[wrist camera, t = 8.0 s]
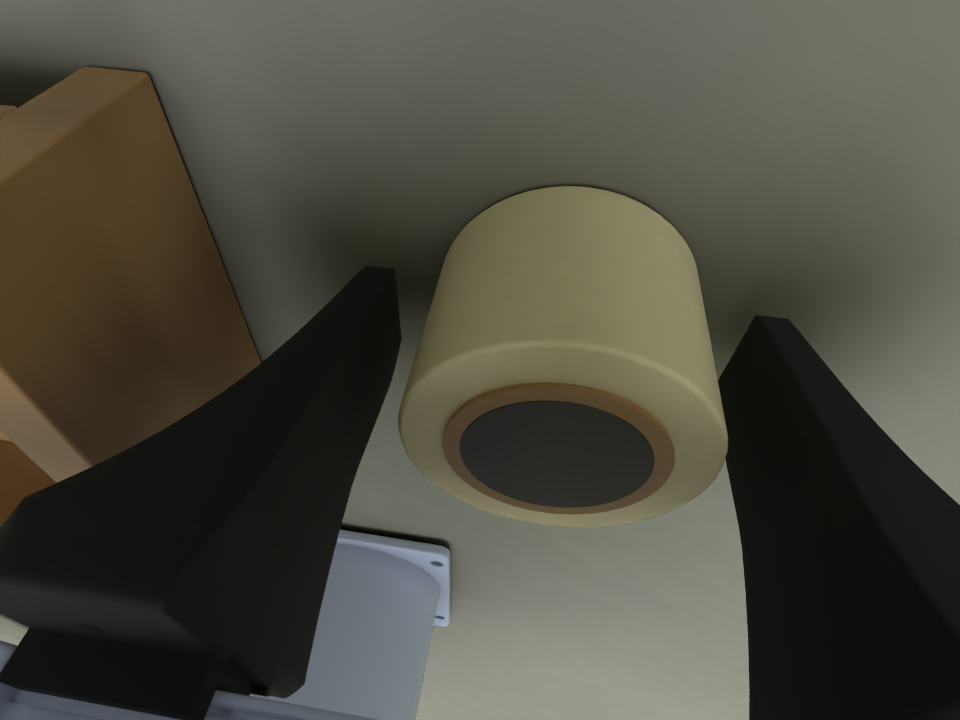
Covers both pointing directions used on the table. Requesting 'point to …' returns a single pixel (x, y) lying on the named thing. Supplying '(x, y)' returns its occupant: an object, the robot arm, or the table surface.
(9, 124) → the shelf
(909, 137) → the table surface
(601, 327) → the tape roll
